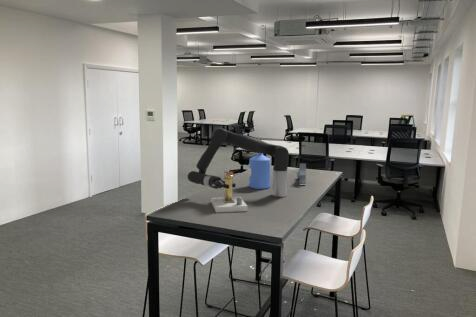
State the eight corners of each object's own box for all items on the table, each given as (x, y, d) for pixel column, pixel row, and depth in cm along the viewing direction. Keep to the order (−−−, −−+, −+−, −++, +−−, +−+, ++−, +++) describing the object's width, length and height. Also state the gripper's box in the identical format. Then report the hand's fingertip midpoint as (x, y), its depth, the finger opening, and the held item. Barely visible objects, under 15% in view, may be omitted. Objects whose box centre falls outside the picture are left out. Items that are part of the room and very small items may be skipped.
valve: (221, 200, 228) (221, 171, 226) (227, 198, 232) (228, 170, 229) (228, 202, 224) (229, 173, 221) (235, 200, 227) (236, 172, 225)
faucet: (296, 192, 313) (298, 183, 285) (296, 172, 318) (298, 161, 290) (304, 192, 313) (307, 183, 284) (304, 172, 318) (307, 161, 289)
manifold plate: (211, 202, 237) (211, 191, 236) (240, 201, 241) (240, 190, 240) (215, 212, 216) (215, 200, 215) (247, 211, 219) (247, 199, 218)
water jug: (274, 186, 285) (275, 149, 281) (262, 190, 273) (263, 151, 269) (256, 183, 294) (257, 147, 290) (244, 187, 282) (245, 149, 278)
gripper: (203, 177, 231) (223, 181, 219) (221, 174, 241) (240, 178, 229) (203, 189, 232) (222, 194, 220) (221, 185, 242) (240, 190, 230)
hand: (231, 186), depth 225 cm, fingers closed on valve, 4 cm apart
